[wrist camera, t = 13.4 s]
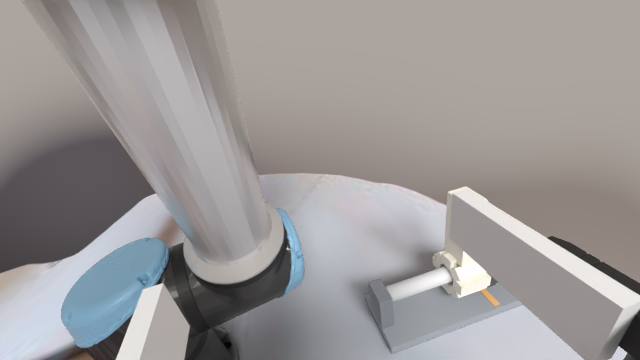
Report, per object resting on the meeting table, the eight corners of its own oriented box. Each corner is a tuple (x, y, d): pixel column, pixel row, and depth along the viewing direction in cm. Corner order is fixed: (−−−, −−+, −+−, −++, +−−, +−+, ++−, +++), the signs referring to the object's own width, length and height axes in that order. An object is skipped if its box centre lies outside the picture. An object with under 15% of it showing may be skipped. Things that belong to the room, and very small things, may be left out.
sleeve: (459, 307, 42) (469, 214, 34) (432, 274, 48) (434, 189, 40) (487, 297, 43) (504, 203, 35) (457, 265, 49) (465, 180, 41)
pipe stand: (391, 353, 40) (389, 321, 37) (365, 299, 49) (361, 268, 46) (541, 297, 44) (552, 263, 41) (492, 256, 53) (497, 224, 49)
